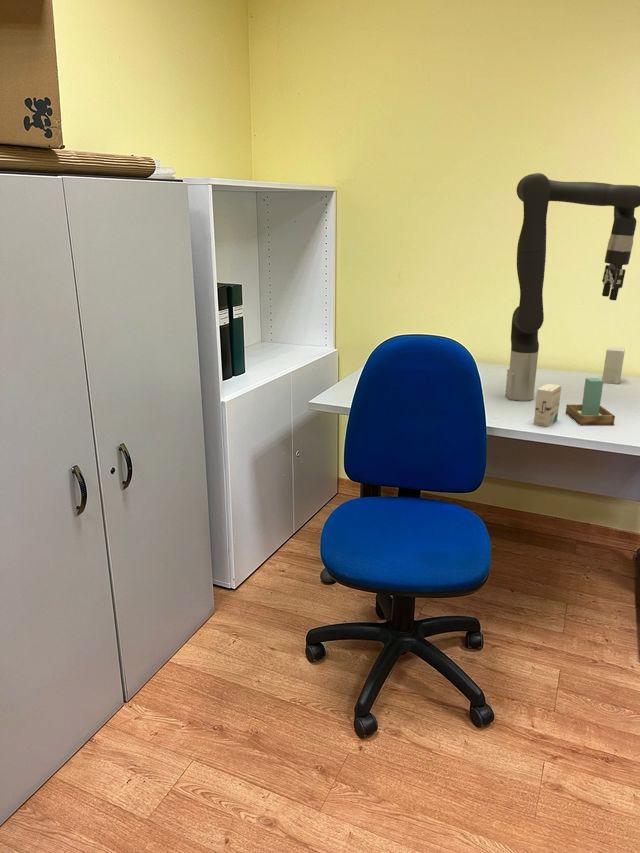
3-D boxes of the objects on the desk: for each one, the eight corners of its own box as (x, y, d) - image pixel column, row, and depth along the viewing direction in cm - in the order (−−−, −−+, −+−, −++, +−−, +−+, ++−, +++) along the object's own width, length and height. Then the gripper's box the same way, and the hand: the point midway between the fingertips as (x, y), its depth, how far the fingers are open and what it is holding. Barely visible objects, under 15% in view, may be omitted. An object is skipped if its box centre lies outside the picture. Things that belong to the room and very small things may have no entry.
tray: (579, 425, 201) (581, 416, 200) (565, 413, 213) (566, 404, 212) (613, 425, 201) (615, 416, 200) (597, 412, 213) (598, 404, 212)
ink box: (542, 417, 209) (546, 382, 205) (558, 420, 206) (562, 385, 202) (532, 424, 203) (536, 388, 199) (548, 427, 200) (552, 390, 196)
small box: (619, 384, 247) (624, 351, 243) (602, 382, 249) (606, 350, 245) (619, 379, 254) (624, 347, 250) (602, 378, 256) (606, 345, 252)
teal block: (585, 417, 205) (590, 381, 201) (581, 413, 209) (585, 378, 205) (598, 417, 205) (603, 381, 201) (593, 413, 209) (598, 377, 205)
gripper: (601, 246, 220) (591, 294, 226) (614, 250, 207) (603, 300, 213) (624, 248, 220) (613, 296, 225) (638, 251, 206) (626, 302, 212)
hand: (608, 298), depth 219 cm, fingers open, 8 cm apart
